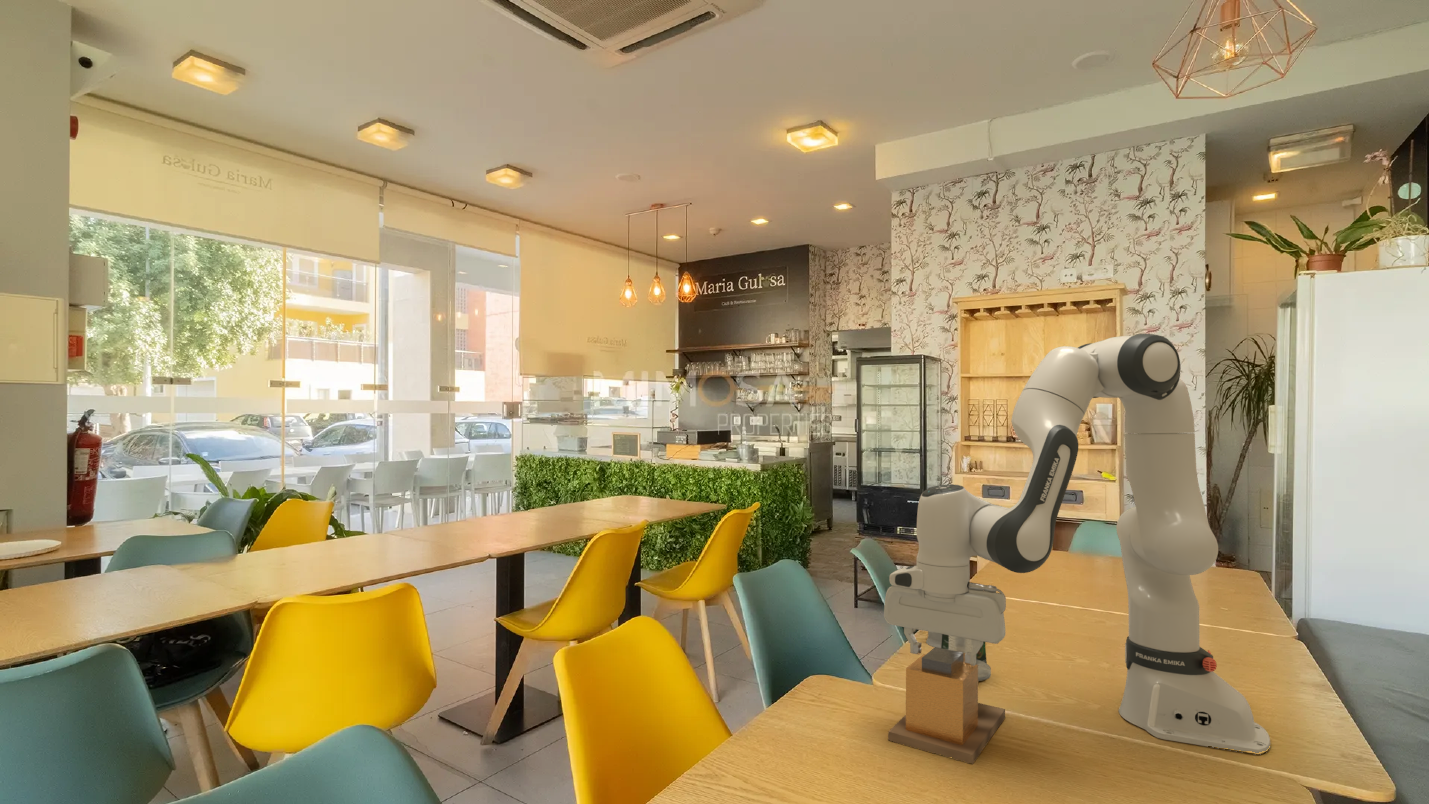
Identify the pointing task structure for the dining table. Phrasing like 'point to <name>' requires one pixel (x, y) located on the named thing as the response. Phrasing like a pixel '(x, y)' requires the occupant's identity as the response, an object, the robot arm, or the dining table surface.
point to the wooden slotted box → (945, 697)
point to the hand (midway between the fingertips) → (942, 658)
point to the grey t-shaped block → (942, 661)
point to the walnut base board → (968, 752)
